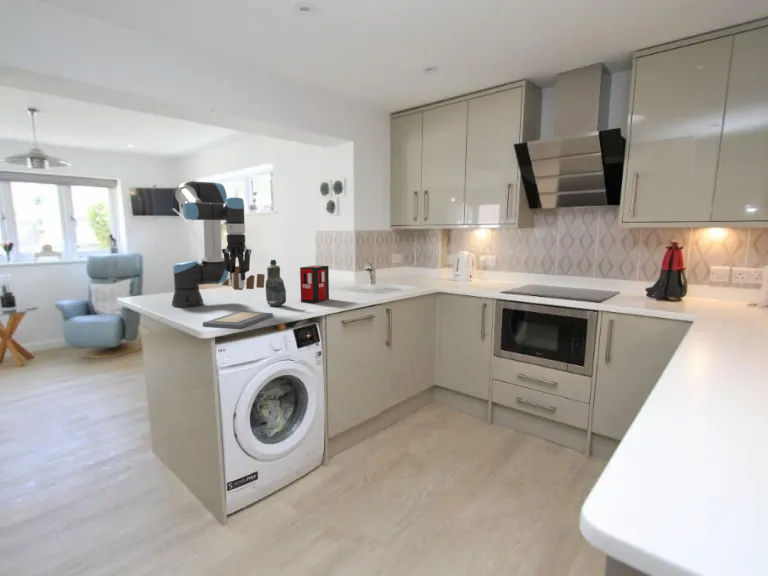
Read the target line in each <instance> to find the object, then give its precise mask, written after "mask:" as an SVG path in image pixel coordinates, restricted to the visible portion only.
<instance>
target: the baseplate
mask: <svg viewBox="0 0 768 576" xmlns="http://www.w3.org/2000/svg"><path fill="white" fill-rule="evenodd" d="M272 317H274V313H273V312H261V311H260V312H259V311H243V310H242V311H241V310H239V311H236V312H233V313H232V312H231V313H229V314H226V315H223V316H220V317H216V318H213V319H209V320H206V321H204V322H202V327H208V326H210V327H209V328H211V327H212V328H213V327H214V328H225V329H227V328H228V329H240V330H241V329H245V328H246V327H248V326H251V325H254V324H257V323H259V322H261V321H264V320H267V319H269V318H272Z"/></svg>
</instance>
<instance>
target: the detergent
mask: <svg viewBox="0 0 768 576" xmlns="http://www.w3.org/2000/svg"><path fill="white" fill-rule="evenodd" d="M269 264H270V265H269V266H267V267H266V272H267V274H266V276H267V279H266V281H265V296H266V302H267V305H269V306H278V307H280V306H282V305H284V304H286V302H287V297H286V296H287V291H286V286H285V283H284V279H282V277H281V267H280V265H277V261H276V259H270V263H269Z"/></svg>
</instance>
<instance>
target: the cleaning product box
mask: <svg viewBox="0 0 768 576" xmlns="http://www.w3.org/2000/svg"><path fill="white" fill-rule="evenodd" d="M329 270H330V269H329V265H310V266H302V267H300V268H299V278H300V303H306V304H317V303H321V302H325V301H327V299H328V300H329V299H330V284H329V283H330V282H329V281H330V279H329V276H330V275H329ZM324 300H325V301H324Z"/></svg>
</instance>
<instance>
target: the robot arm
mask: <svg viewBox="0 0 768 576" xmlns="http://www.w3.org/2000/svg"><path fill="white" fill-rule="evenodd" d="M174 196H175V199H176V201H177V202H178V203H180V205H183V206H182V209H183V210H182V212H183V217H184V218H185V220H192V221H203V240H204V241H203V246H204V247H203V249H204V257H202V259H201V262H198V260H191V261H189V260H188V261H182V262H177V263H175V264H173V269H172V274H173V282H174V283H173V284H174V285H173V286H174V293H173V298H172V301H171V306H172V307H173V306H174V307H173V308H191V307H200V306H203V305H204V298H203V297H202V296H203V295H202V294H201V292H200V285H201V286H203V285H204V286H205V285H218V284H223V283H224V282H225V281H226V280H227V279H228V278H229V280H230V281H231V286H232V287H231V289H234V278H235V266H237V265H236V263H237V261H238V266H239V268H240V272H239V288H243V289H244V288H245V281H246V273H247V272H250V263H251V261H250V260H251V253H252V249H251V248H247V246H246V234H245V233H246V226H245V202H244V199H243V198H242V197H234V196H231V197H227V196H228V195H227V192H226V189H225V186H224V185H223V184H222V183H218V182H209V181H208V182H207V181H196V180H195V181H194V180H192V181H190V180H189V181H185V182H182V183H180V184H178V186H177V187H176V188H175V189H174ZM222 221H225V224H226V225H225V226H226V228H225V229H226V233H227V234H226V243H227V246H226V247H225V248H222ZM222 255H223V256H222ZM229 276H230V277H229Z"/></svg>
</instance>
